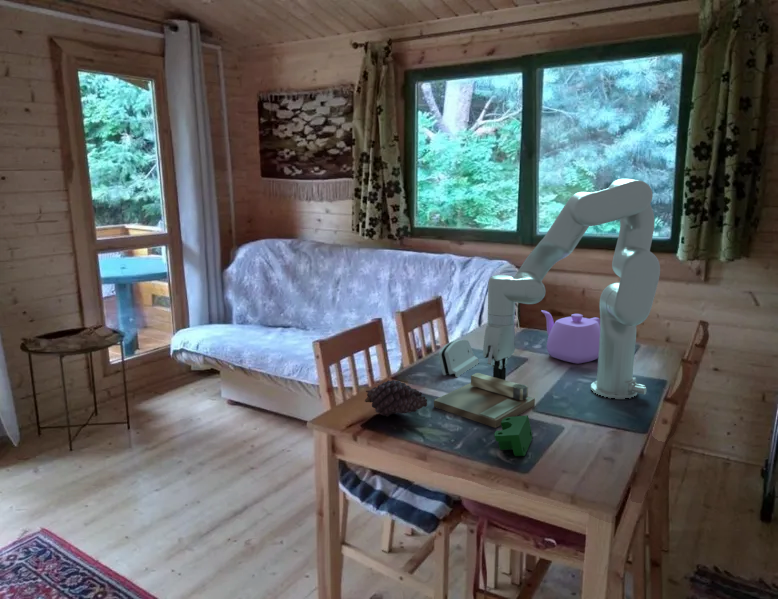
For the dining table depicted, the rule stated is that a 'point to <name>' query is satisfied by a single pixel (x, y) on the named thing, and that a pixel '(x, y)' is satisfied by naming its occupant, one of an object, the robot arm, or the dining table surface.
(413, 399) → the pine cone
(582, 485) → the dining table surface
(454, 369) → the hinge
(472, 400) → the stool seat
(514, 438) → the clamp
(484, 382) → the folding leg
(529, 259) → the robot arm
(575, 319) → the teapot
